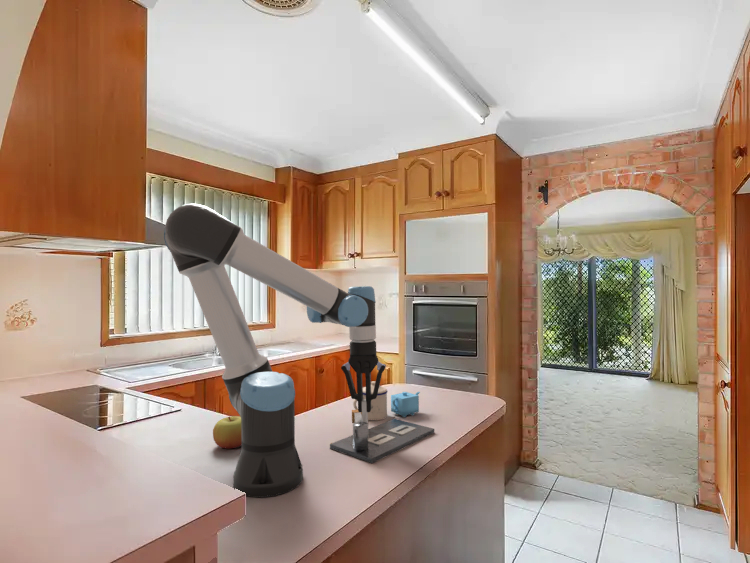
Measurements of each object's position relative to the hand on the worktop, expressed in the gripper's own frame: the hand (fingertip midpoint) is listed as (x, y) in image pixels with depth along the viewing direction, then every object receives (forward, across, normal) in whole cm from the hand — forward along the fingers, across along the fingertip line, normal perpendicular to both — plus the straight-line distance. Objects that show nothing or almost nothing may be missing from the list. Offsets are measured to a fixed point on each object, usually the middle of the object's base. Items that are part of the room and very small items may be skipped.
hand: (365, 423), depth 121 cm
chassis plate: (+5, -6, 0) cm, 7 cm away
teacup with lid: (+5, +1, -20) cm, 21 cm away
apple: (+4, +36, +7) cm, 37 cm away
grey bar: (+3, +1, +3) cm, 5 cm away
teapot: (+5, -11, -25) cm, 28 cm away
